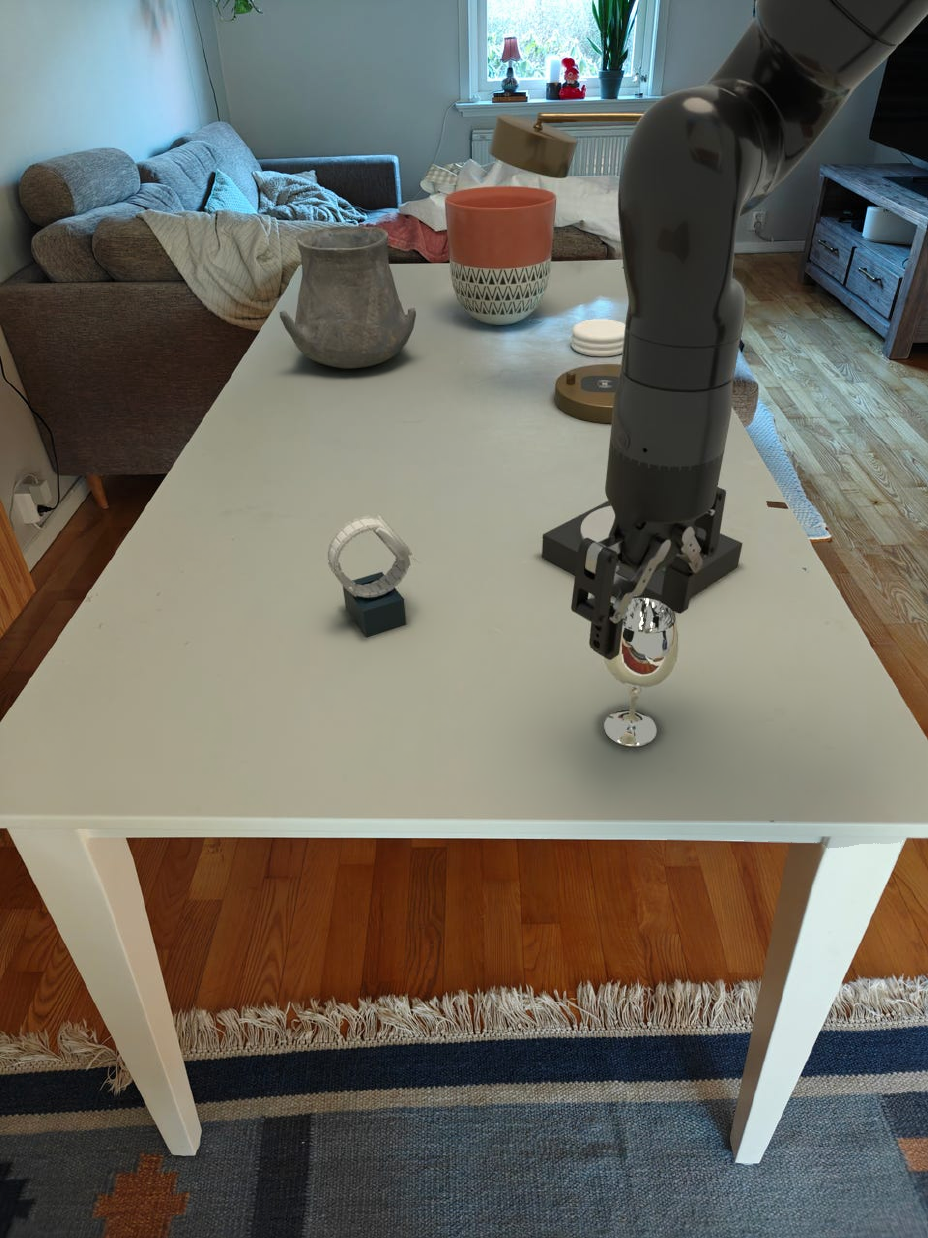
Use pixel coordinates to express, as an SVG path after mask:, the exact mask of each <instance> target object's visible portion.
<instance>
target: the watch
mask: <svg viewBox="0 0 928 1238" xmlns="http://www.w3.org/2000/svg"><path fill="white" fill-rule="evenodd" d="M369 531H373V533H374V534H375V535H376V536H377V537H378V538H379V540H380V541H381V542H382V543H383V544H384V546H385V547H386V548H387V549H388V550H389V551H390V553H392V555H393V556H394V557H395V560H394V562H393V563H392V565H391V568H389V570H388V571H387V572H386V573H385V574H384V572H383V571H379V572H376V573H373V574H369V575H366V576H363V577H359V578H356V579H353V580H351V579H350V578H349V577H348V576H347V575H346V574H345V572H344V571H343V569H342V567H341V563H340V561H339V559H340V556H341V554H342V551H343V550H344V549H345V547H346V546H347V545H348V544H349V543H350V542H351V541H353V539H355V538H356V537H358V536H360V535H361V534H364V533H367V532H369ZM412 555H413V553H412V551H411V549H410V548H409V546H408V545H407V544H406V543H405V541H403V539H402V538H401V537H400V535H398V533H397V532H396V531H395V530H394V528H393V527H391V526H390V524H389V523H388V522H387V521H386V520H385V519H384V518H383V517H382V516H380V515H377V516H376V517H374V516H372V515H368V514H367V515H364V516H360V517H355V518H354V519H352V520H349V521H347V522H346V523H344V524H343V525H342V526H341V527H340V528H338V530H337V531H336V533H335V534H334V535H333V536H332V539H331V540H330V542H329V545H328V550H327V560H328V562H327V565H328V566H329V569H330V570H331V572H332V573H333V575H334V576H335V577H336V579H337V580H338V581H339V583H340V584H341V586H342V591H343V600H344V606H345V610H346V612H348V614H349V615H350V617H351V618H352V619H353V621H354V622H355V624H356V625H357V626H358V628H359V630H360V631H361V632H362V633H363V635H364V637H365V638H368V637H371V636H374V635H377V634H380V633H383V632H386V631H389V630H392V629H396V628H399V627H402V626H404V625H407V619H406V617H407V616H406V609H405V608H406V607H405V606H406V605H405V598H404V597H403V596H402V594H401V593H400V591H398V589H397V588H396V587H397V586H399V584H400V583H402V580H403V579H404V578H405V576H406V575H407V573H408V571H409V568H410V566H411V565H412V564H411V559H410V557H411V556H412Z"/></svg>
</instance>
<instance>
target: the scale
mask: <svg viewBox="0 0 928 1238" xmlns="http://www.w3.org/2000/svg"><path fill="white" fill-rule="evenodd" d="M614 519H615V513H614V511H613V508H612V506H611V504H610V502H609V501H608V500H606V501H604V502H602V503H600V504H599V505H597V506H595V507H593V508H590V509H589V510H586V511H585V512H583V513H582V514H579V515H577V516H575V517H574V518H571V519H570V520H568V521H566V522H564V523H562V524H560V525H558V526H556V527H554V528H552V529H550V530H548V531H546V532H545V533H543V534H542V546H541V558H543V559H544V560H546V561H548V562H550V563H552V564H554V565H555V566H557V567H559V568H561V569H563V570H564V571H566V572H569V573H570V574H572V575H574V576H575V573H576V565H577V557H578V549H579V545H580V543H581V542H582V540H583V539H585V538H590V539H592V540H594V541H596V542H599V541H602V540H604V539H606V538H608V536H609V533H610V530H611V528H612V526H613V523H614ZM697 535H699V536H701V537H703V538H706V532H705V530H704V529H702V528H699V527H698V533H697ZM742 549H743V542H741V541H739V540H737V539H734V538H733V537H730V536H728V535H726V534H723V533H721V532H720V535H719V542H718V548H717V551H716V553H715V554H714V555H713V556H712V557H708V556H706V555H705V557H704V558H703V564H702V566H701V568H700V570H699V571H698V572H696V573H695V574H694V579H693V585H692V591H691V596H690V599H691V598H692V597H694V596H695V595H697V594H698V593H700V592H701V591H703V590H704V589H706V588H707V587H709V586H710V585H712V584H714V583H715V582H717V581H718V580H719V579H722V577H724V576H725V575H727V574H728V573H730V572H732V571H733V570H735V569H736V568H738V567H739V563H740V557H741V553H742ZM617 565H619V570H618V571H617V572H616V574H617V575H619V576H621V577H623V578H625V579H627V580H632V579H633V578H634V577H635V575H636V574H635V573H633V572H631V571H629V570H627V569H625V568H624V567H623V566H622V565H621V563H620V562H619V561H618V563H617ZM665 568H666V566H663V567H661V568H659V569H658V570H657V571H656V572H655V573H654V574H653V575H652V576H651V578H650V579H649V581H648V583H647V585H646V587H645V589H644V591H643V593H642V594H641V595H640V596H635V597H633V598H649V599H653V600H657V601H660V602H661V594H662V588H663V581H664V575H665ZM619 593H620V589H619V587H617V586H615V585H613V589H612V595H611V596H613V597H614V598H617V597H618V595H619ZM633 598H632V599H633Z"/></svg>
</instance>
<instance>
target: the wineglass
mask: <svg viewBox="0 0 928 1238" xmlns="http://www.w3.org/2000/svg"><path fill="white" fill-rule="evenodd" d="M622 618H623V627H622V635H621V643H620V651H619V655H618V656H616V657H615V658H613V659H612V660H608V659H607V658H605V657H603V658H604V664H605V666H606V668H607V670H608V671H609V673H610V675H611V676H612V677H613V678H614V679H616V680H617V681H618V682H620V683H621V684H623V685H626V686H628V689H629V694H630V695H629V696H630V706H629V709H619V710H616V711H613V712H611V713H610V714H609V715H607V717H606V718H605V720H604V723H603V729H604V732H605V733H606V736H607V737H608V738H609V739H610V740H612V741H613V742H615V743H617V744H618V745H621V746H625V747H633V748H635V747H636V748H637V747H642V746H643V747H644V746H646V745H648V744H650V743H651V742H652V741H654V739H655V738H656V736H657V733H658V728H657V725H656V723H655V721H654V720H653V719H652V717H650V716H649V715H648V714H646V713H644V712H642V711H639V710H636V708H637V702H638V699H639V696H640V694H641V693H642V691H643V688H645V689H646V688H650V687H655V686H656V685H660V684H661V683H662V682H664V681H665V680H666V679H667V678H668V677H669V676H670V675H671V673H672V672H673V671H674V669H675V666H676V663H677V659H678V655H679V654H678V653H679V631H678V623H677V617H676V612H674V611H673V610H672V609H671V608H670V607H669V606H667V605H666V604H664V603H662V602H660V601H657V600H653V599H649V598H633V599H632V600H631V602H630V604H629V606H628V607H627V609H626V611H625V613H624V615H623V617H622Z"/></svg>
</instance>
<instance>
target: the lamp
mask: <svg viewBox="0 0 928 1238" xmlns="http://www.w3.org/2000/svg"><path fill="white" fill-rule="evenodd" d="M644 113H645V112H632V111H631V112H629V111H628V112H627V111H626V112H625V111H624V112H623V111H621V112H620V111H619V112H616V111H615V112H613V111H612V112H610V111H609V112H604V111H603V112H563V111H559V112H558V111H557V112H553V111H552V112H548V111H547V112H537V120H534V119H529V118H526V117H522V116H518V115H515V114H507V113H499V114H497V116H496V119H495V124H494V127H493V130H492V131H493V132H492V135H491V138H490V139H491V140H490V142H489V147H488V153H489V155H491V156H492V157H493V158H495V159H497V160H498V161H500V162H502V163H505V164H507V165H509V166H511V167H513V168H517V169H519V170H523V171H526V172H528V173H532V174H536V175H539V176H543V177H548V178H549V177H550V178H555V179H565V178H567V177H568V175H569V171H570V168H571V165H572V161H573V159H574V156H575V152H576V150H577V149H576V148H577V146H578V143H579V142H578V141H579V140H578V139H577V138H576V137H574V136H573V135H571V134H569V133H568V132H565V131H563V130H561V129H559V128H557V127H553V126H551V125H548V124H564V123H638V121H639V120H640V118H641V117H642V115H643V114H644ZM620 371H621V364H619V363H600V364H590V365H584V366H583V365H582V366H579V367H575V368H573V369H569V370H567V371H565V372H564V373H562V374H560V375H559V376H558V377H557V379H556V380H555V385H554V402H555V405H556V406H557V407H558V408H559V409H560V410H561V411H562V412H564V413H565V414H566V415H568V416H571V417H573V418H577V419H580V420H582V421H587V422H593V423H597V424H598V423H599V424H610V425H611V424H612V414H613V405H614V399H615V394H616V389H617V386H618V382H619V377H620Z"/></svg>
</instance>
